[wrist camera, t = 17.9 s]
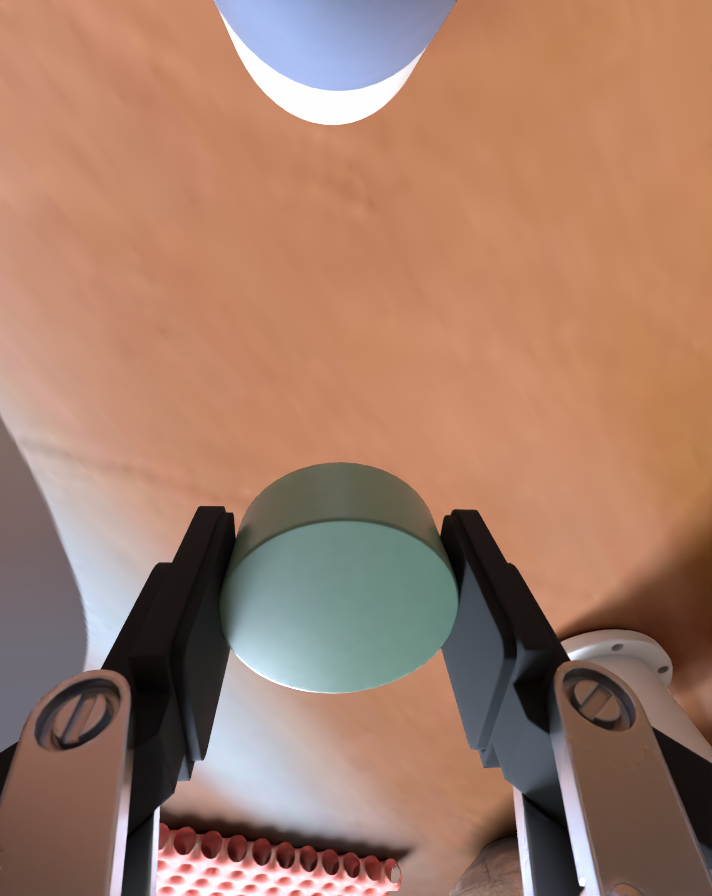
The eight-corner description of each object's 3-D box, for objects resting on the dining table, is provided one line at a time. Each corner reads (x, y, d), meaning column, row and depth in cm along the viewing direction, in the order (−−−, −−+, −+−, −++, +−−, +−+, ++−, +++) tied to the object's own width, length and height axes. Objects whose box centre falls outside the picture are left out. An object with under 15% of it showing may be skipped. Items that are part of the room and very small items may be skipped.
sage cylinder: (475, 519, 11) (509, 583, 9) (364, 640, 12) (371, 717, 10) (302, 422, 9) (296, 472, 7) (203, 575, 11) (176, 650, 9)
